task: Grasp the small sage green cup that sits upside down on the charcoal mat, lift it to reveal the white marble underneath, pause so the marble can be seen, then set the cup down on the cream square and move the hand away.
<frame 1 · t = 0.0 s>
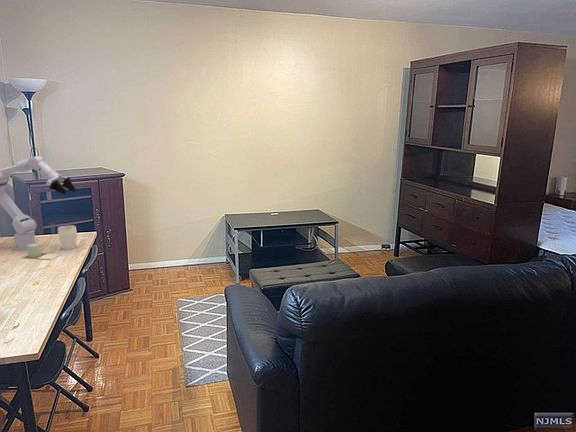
hand: (69, 191, 219), 32 cm above the table, tool tilted 50°, fingers open, 7 cm apart
cup: (69, 248, 231), on the table
marble: (34, 253, 216), point 2 cm above the table, touching mat
mat: (42, 257, 216), on the table
sage cup: (34, 255, 216), resting on mat
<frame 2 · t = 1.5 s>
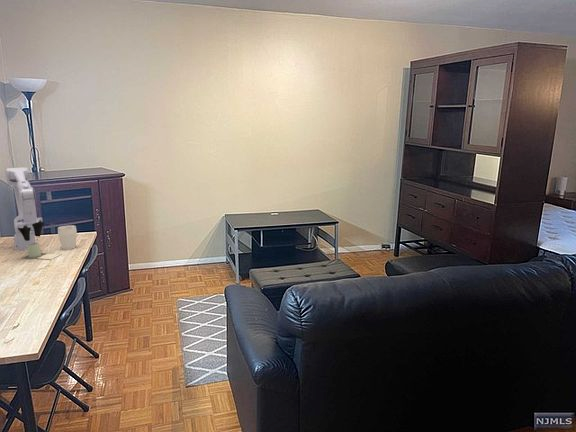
hand: (32, 238, 214), 10 cm above the table, tool pointing down, fingers open, 7 cm apart
nothing on the table moved.
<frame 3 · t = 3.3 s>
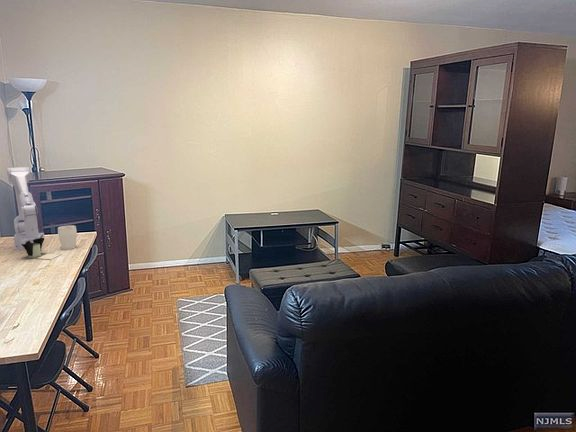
hand: (34, 253, 216), 2 cm above the table, tool pointing down, fingers closed on sage cup, 5 cm apart
sage cup: (34, 255, 216), point 1 cm above the table, touching gripper, mat
everything else where it was.
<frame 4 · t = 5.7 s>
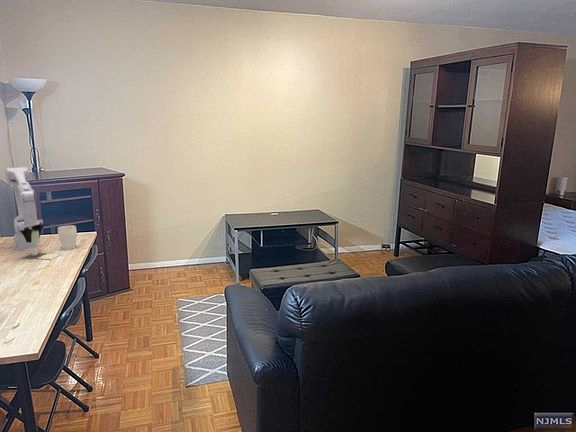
hand: (33, 240, 215), 9 cm above the table, tool pointing down, fingers closed on sage cup, 5 cm apart
sage cup: (33, 242, 215), point 8 cm above the table, touching gripper
everything else where it was.
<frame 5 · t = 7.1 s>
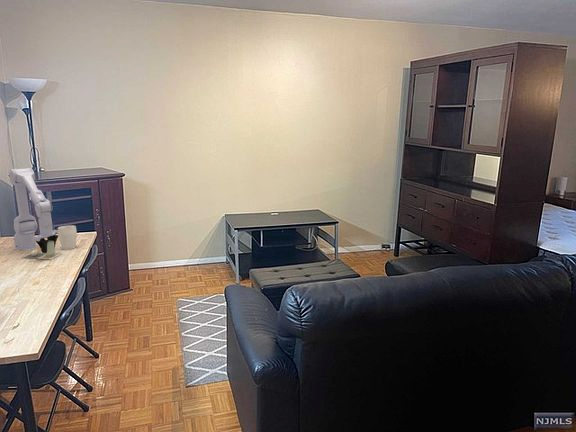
hand: (48, 251, 215), 4 cm above the table, tool pointing down, fingers closed on sage cup, 5 cm apart
sage cup: (48, 253, 215), point 2 cm above the table, touching gripper
everything else where it was.
when the fingers open (3 cm above the table, at t = 8.3 s): sage cup stays where it is, resting on mat.
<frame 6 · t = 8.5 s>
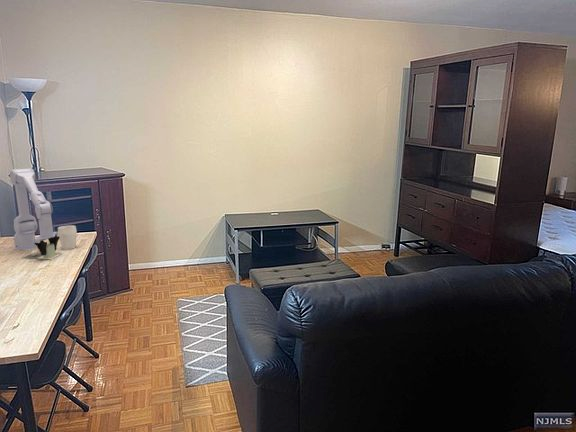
hand: (48, 252, 215), 3 cm above the table, tool pointing down, fingers open, 7 cm apart
sage cup: (49, 256, 215), point 1 cm above the table, touching mat
everything else where it was.
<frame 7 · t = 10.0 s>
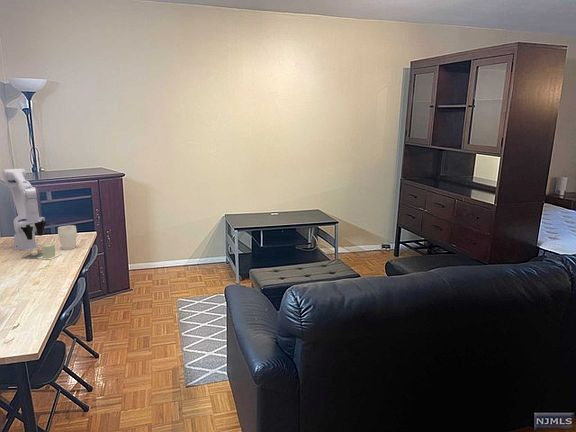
hand: (35, 237, 217), 9 cm above the table, tool pointing down, fingers open, 7 cm apart
nothing on the table moved.
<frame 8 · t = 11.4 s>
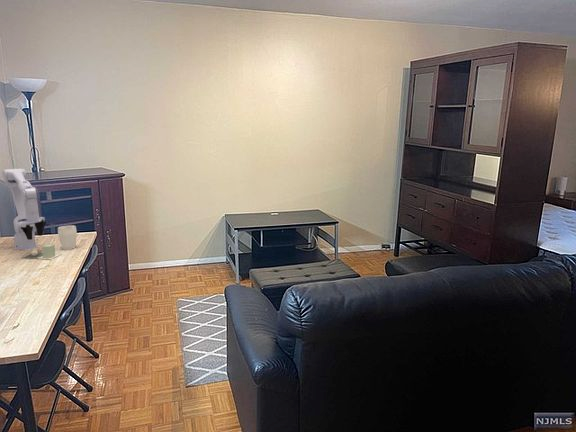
hand: (35, 237, 217), 9 cm above the table, tool pointing down, fingers open, 7 cm apart
nothing on the table moved.
at the end: sage cup 0.0 cm from the target spot on the mat, point 0.7 cm above the mat's base; sage cup tilted 0°; the gripper is holding nothing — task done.
